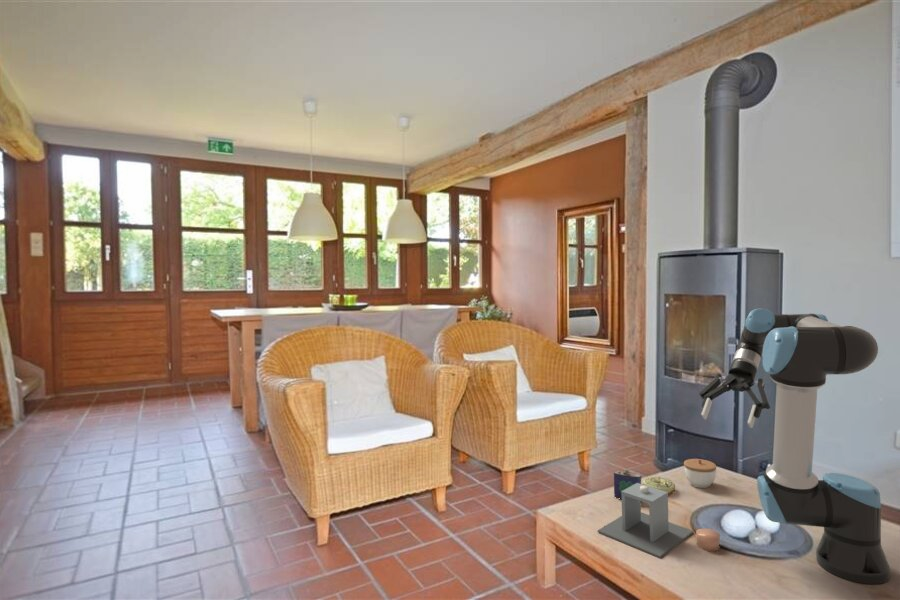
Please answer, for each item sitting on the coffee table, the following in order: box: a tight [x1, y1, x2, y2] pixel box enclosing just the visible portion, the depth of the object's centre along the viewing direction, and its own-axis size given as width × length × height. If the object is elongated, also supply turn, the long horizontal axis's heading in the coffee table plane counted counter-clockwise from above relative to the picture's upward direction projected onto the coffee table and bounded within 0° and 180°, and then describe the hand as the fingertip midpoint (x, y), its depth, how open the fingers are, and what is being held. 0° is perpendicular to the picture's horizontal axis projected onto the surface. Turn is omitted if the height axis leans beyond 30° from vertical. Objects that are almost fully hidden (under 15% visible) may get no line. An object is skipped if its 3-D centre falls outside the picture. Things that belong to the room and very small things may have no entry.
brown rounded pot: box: [695, 528, 721, 552], centre depth 146 cm, size 6×6×4 cm
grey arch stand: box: [621, 483, 669, 542], centre depth 154 cm, size 10×9×13 cm
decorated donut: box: [642, 476, 676, 496], centre depth 184 cm, size 10×11×4 cm
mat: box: [597, 511, 694, 559], centre depth 155 cm, size 20×20×1 cm
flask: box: [613, 468, 642, 500], centre depth 178 cm, size 9×3×11 cm, turn 61°
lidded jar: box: [683, 458, 717, 489], centre depth 187 cm, size 11×11×9 cm
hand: (726, 421), depth 158 cm, fingers open, 13 cm apart
